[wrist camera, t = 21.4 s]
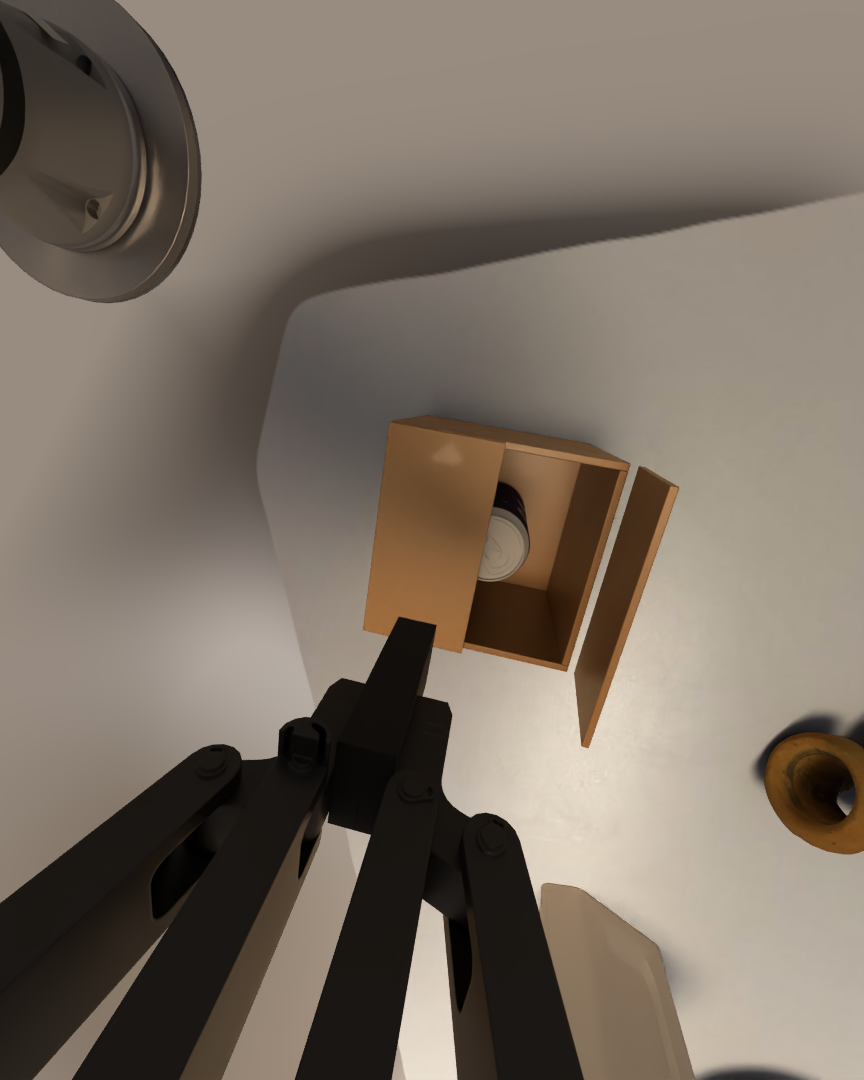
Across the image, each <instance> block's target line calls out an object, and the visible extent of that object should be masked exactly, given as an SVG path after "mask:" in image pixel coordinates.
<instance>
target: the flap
mask: <svg viewBox="0 0 864 1080" xmlns="http://www.w3.org/2000/svg"><path fill="white" fill-rule="evenodd" d="M505 447H506V443H504V442H499V441H493V440H488V439H482V438H477V437H471V436H466V435H460V434H455V433H449V432H444V431H438V430H433V429H427V428H422V427H416V426H411V425H405V424H400V423H394V422H389V429H388V436H387V444H386V452H385V460H384V468H383V476H382V484H381V492H380V500H379V508H378V515H377V523H376V531H375V539H374V547H373V555H372V563H371V571H370V579H369V587H368V594H367V602H366V610H365V618H364V626H363V630H365V631H369V632H373V633H377V634H382V635H386V636H389V635H390V633H391V631H392V629H393V627H394V625H395V623H396V621H397V619H398V617H404V618H408V619H413V620H417V621H422V622H426V623H430V624H435V625H437V627H436V632H435V637H434V643H433V647H436V648H440V649H444V650H449V651H453V652H457V653H462V649H463V644H464V640H465V635H466V630H467V626H468V621H469V616H470V611H471V607H472V602H473V597H474V593H475V588H476V583H477V579H478V574H479V569H480V564H481V560H482V555H483V550H484V546H485V541H486V536H487V532H488V527H489V522H490V517H491V513H492V508H493V503H494V499H495V494H496V489H497V485H498V480H499V475H500V470H501V466H502V461H503V456H504V452H505Z"/></svg>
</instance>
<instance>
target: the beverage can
mask: <svg viewBox="0 0 864 1080" xmlns="http://www.w3.org/2000/svg"><path fill="white" fill-rule="evenodd" d="M529 549H530V537H529V531H528V525H527V519H526V513H525V507H524V503H523V500H522V498H521V496H520V495H519V493H518V492H517V491H516V490H515V489H514V488H512V487H511V486H509V485H507V484H505V483H501V482H498V485H497V489H496V494H495V499H494V503H493V508H492V513H491V517H490V522H489V527H488V532H487V536H486V541H485V546H484V550H483V555H482V560H481V564H480V569H479V574H478V580H481V581H488V582H492V581H499V580H502V579H505V578H507V577H509V576H510V575H512V574H513V573H515V572H516V571H517V570H518V569H519V568H520V567H521V566H522V565H523V564H524V562H525V560H526V558H527V556H528V553H529Z"/></svg>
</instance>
